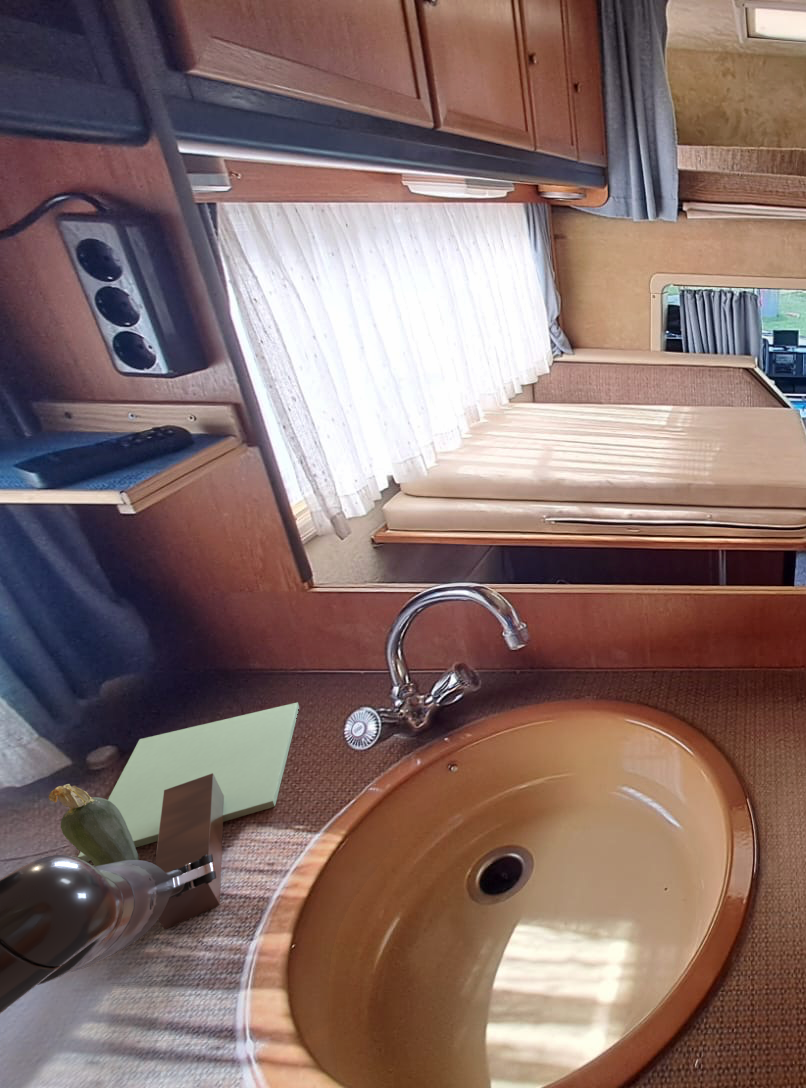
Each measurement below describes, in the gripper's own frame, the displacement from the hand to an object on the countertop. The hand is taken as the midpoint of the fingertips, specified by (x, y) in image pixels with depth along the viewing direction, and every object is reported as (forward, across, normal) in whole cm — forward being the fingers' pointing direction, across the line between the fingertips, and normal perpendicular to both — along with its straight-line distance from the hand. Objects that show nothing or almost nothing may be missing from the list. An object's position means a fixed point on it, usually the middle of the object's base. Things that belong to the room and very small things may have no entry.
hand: (156, 892), depth 66 cm
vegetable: (+20, +6, -1) cm, 21 cm away
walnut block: (+12, 0, +3) cm, 13 cm away
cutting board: (+32, 0, -14) cm, 35 cm away
